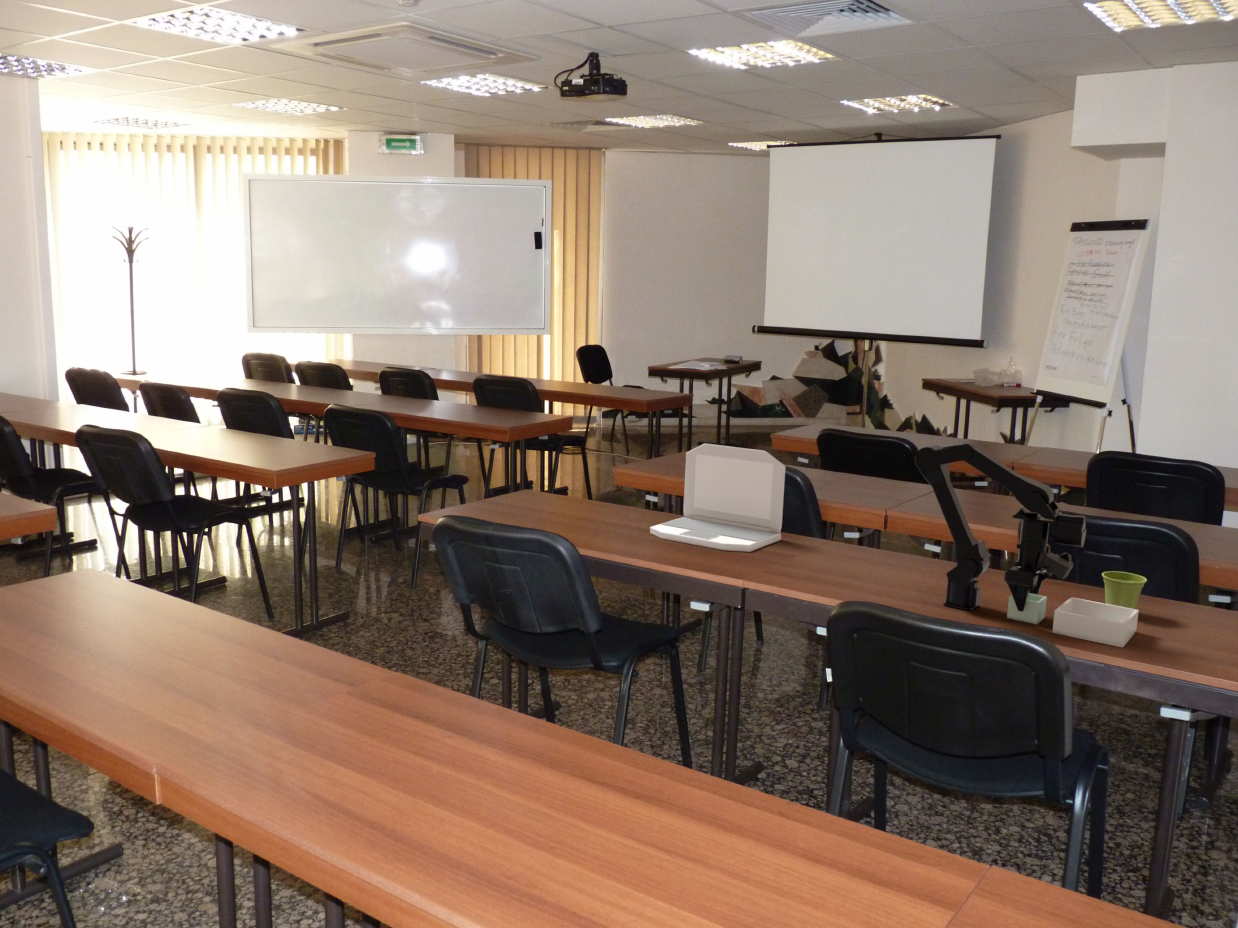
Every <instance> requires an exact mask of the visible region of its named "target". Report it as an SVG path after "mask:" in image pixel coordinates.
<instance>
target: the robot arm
mask: <svg viewBox="0 0 1238 928" xmlns="http://www.w3.org/2000/svg"><path fill="white" fill-rule="evenodd" d="M960 461H961V462H962V461H963V462H966V463H967V464H969V465H970V466H971V467H973V468H975V469H976V470H978V471H980V473H982V474H983V475H985V476H987V477H988V478H990V479H992V480H993V481H995V483H997V484H999V485H1001V486H1002V487H1003V488H1005V489H1006V490H1007V491H1008V492H1009V493H1010V494H1011V496H1013V498H1014V499H1015V500H1016V501H1017V502H1018V503H1020V505H1022V506H1023V507H1020V509H1019V510H1018V511H1017V512H1016V513H1014V514H1012V519H1017V520H1021V525H1020V536H1019V542H1018V543H1016V549H1017V550H1018V555H1017V560H1015V561H1014V566H1012V567H1010V568H1009V569H1007V570H1006V571H1005V572H1004V577H1003V580H1004V581H1005V583H1006V585H1007V586H1008V588H1009V591H1010V593H1011V595H1012V596H1013V598H1014V601H1015V604H1016V607H1017V609H1018V611H1021V612H1023V611H1024V608H1025V605H1026V601H1027V598H1028V594H1029V593H1030V594H1036V595H1039V593H1040V591H1041V589H1042V585H1043V582H1044V581H1045V580H1046V579H1048V578H1049V577H1051V576H1052V575H1054V576H1055V577H1057V578H1058V579H1060V580H1065V578H1067V577H1068V576H1069V574H1070V572H1071V570H1072V569H1073V568H1074V562H1073V561H1072V555H1071V554H1069V552H1063V553H1062V554H1058V553H1054V552H1051V545H1050V544H1048V538H1050V539H1051V541H1054V543H1055V544H1058V545H1064V546H1065V545H1066V546H1070V547H1071V546H1072V547H1078V548H1083V547H1084V544H1085V540H1086V536H1087V529H1086V516H1085V515H1072V514H1071V515H1070V514H1065V513H1063V512H1062V510H1061V509H1060V507H1059V505H1058V504H1057V502H1056V501H1055V500H1054V499H1055V497H1054V496H1055V493H1054V491H1053V489H1052V488H1051V487H1050V486H1049V485H1047V484H1046V483H1043V482H1041V481H1038V480H1036V479H1033V478H1030V477H1028V476H1024V475H1022V474H1019V473H1018V472H1017V471H1015V470H1013V469H1012V468H1011V467H1009V466H1008V465H1006V464H1004V463H1003V462H1001V461H999V460H998V459H997V458H995V457H994V456H992V455H991V454H989V453H987V452H986V451H984V450H982V449H981V448H980V447H978V446H977V445H976V444H975V443H974V442H971V441H967V442H963V443H960V444H956V445H955V444H954V445H948V446H944V447H943V446H940V445H938V444H931V445H927V446H924V447H922V448H919V449H918V451H916V453H915V456H914V464H915V466H916V467H917V469H918V471H919V472H920V474H921V475H922V477H923V478H924V479H925V481H927V482H928V484H929V485H930V486H931V488H932V490H933V493H934V495H935V497H936V500H937V503H938V506H939V508H940V510H941V512H942V515H943V517H944V520H945V522H946V525H947V527H948V529H949V530H948V531H949V533H950V535H951V537H952V539H953V542H954V556H955V562H956V566H955V567H953V568H952V569H950V570H948V572H946V577H947V585H946V597H945V601H944V602H943V604H942V605H943V606H945V607H951V608H956V609H959V610H965V611H972V610H974V609H975V608H977V607H978V606H979V605H980V596H981V588H980V587H979V580H976V579H978V578H979V576H981V575H982V574H984V572H986V571H987V570H988V568H989V566H990V564H991V562H990V557H991V556H992V554H991V553H990V552H989V550H988V548H987V543H986V541H985V539H982V540H980V541H979V540H978V539H977V538H976V537H975V536H974V535H973V533H972V529H971V528H970V525H969V523H968V520H967V518H966V515H965V513H964V511H963V508H962V505H961V503H960V500H959V498H958V496H957V493H956V492H955V489H954V486H953V484H952V482H951V481H952V480H951V478H950V477H951V475H950V464H952V463H956V462H960ZM1049 528H1050V530H1049Z"/></svg>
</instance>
